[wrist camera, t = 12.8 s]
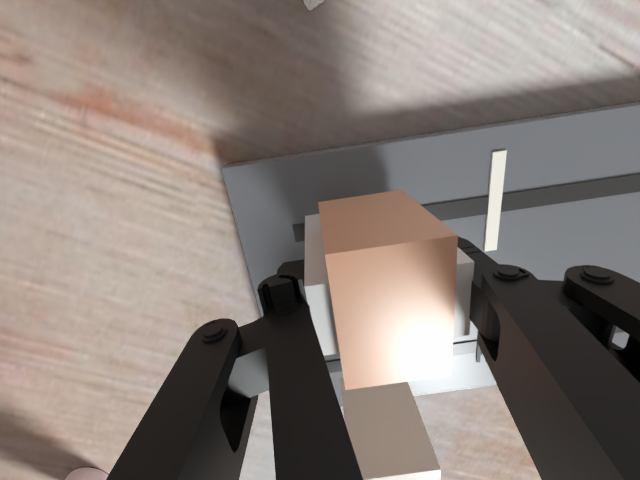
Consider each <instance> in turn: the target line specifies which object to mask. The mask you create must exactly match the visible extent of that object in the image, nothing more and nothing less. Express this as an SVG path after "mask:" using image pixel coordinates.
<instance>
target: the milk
mask: <svg viewBox="0 0 640 480" xmlns="http://www.w3.org/2000/svg"><path fill="white" fill-rule="evenodd" d="M303 1H304V3H305V5H306V7H307V9H308V10H309V11H311V10H312V9H314V8H315V7H317V6H318V5H319V4H321V3H322V2H324V1H325V0H303Z"/></svg>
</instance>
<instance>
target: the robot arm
mask: <svg viewBox="0 0 640 480" xmlns="http://www.w3.org/2000/svg"><path fill="white" fill-rule="evenodd" d="M257 291H258V295H259V299H260V302H261V306H262V310H263V315H264V316H263V317H261V318H260V319H258V320H256V321H254V322H252V323H249V324H247V325H244V326H241V327H238V325H237V324H236V322H235V321H233V320H231V319H217V320H213V321H210V322H208V323H206V324H204V325H203V326H201V327H200V328H198V329H197V330H196V331H195V332H194V334H193V335H192V336H191V338H190V339H189V341H188V343H187V344H186V346H185V348H184V349H183V351H182V353H181V354H180V356H179V358H178V359H177V361H176V363H175V364H174V366H173V368H172V370H171V371H170V373H169V375H168V376H167V378H166V380H165V381H164V383H163V385H162V386H161V388H160V390H159V391H158V393H157V395H156V396H155V398H154V400H153V401H152V403H151V405H150V407H149V408H148V410H147V412H146V413H145V415H144V417H143V418H142V420H141V422H140V423H139V425H138V427H137V428H136V430H135V432H134V433H133V435H132V437H131V439H130V440H129V442H128V444H127V445H126V447H125V449H124V450H123V452H122V454H121V455H120V457H119V459H118V460H117V462H116V464H115V465H114V467H113V469H112V470H111V472H110V474H109V476H108V477H107V479H106V480H239V476H240V472H241V468H242V464H243V460H244V455H245V451H246V447H247V443H248V438H249V434H250V430H251V426H252V421H253V417H254V413H255V409H256V404H257V400H258V394H260V393H262V392H265V391H267V390H269V393H270V406H271V419H272V432H273V445H274V458H275V471H276V480H363V477H362V474H361V471H360V468H359V465H358V462H357V459H356V455H355V452H354V449H353V446H352V443H351V440H350V437H349V434H348V430H347V427H346V424H345V421H344V418H343V415H342V412H341V409H340V405H339V402H338V399H337V396H336V393H335V390H334V387H333V383H332V380H331V377H330V374H329V371H328V368H327V365H326V362H325V358H324V356H325V355H332V354H339V353H340V352H339V345H338V339H337V332H336V325H335V319H334V312H333V306H332V299H331V292H330V286H329V279H328V272H327V266H326V259H325V252H324V244H323V237H322V229H321V221H320V214H314V215H308V216H305V259H303V260H296V261H289V262H284V263H283V264H282V265H281V266H280V267H279V268H278V270H277V274H276V275H273V276H270V277H268V278H266V279H265V280H263V281H262V282H261V283H260V284H259V285H258V289H257ZM470 320H471V322H472V323H473V324H474V325H475V327H476V328H477V329H478V332H477V344H476V362H480V358H481V354H483V356H484V358H485V362H487V364H488V366H489V369H490V371H491V373H492V375H493V377H494V379H495V381H496V383H497V386H498V388H499V390H500V392H501V394H502V396H503V398H504V400H505V402H506V405H507V407H508V409H509V411H510V413H511V415H512V417H513V419H514V422H515V424H516V426H517V428H518V430H519V432H520V434H521V436H522V439H523V441H524V443H525V445H526V447H527V449H528V451H529V453H530V456H531V458H532V460H533V462H534V464H535V466H536V468H537V470H538V472H539V475H540V477H541V479H542V480H640V283H639V282H637V281H635V280H633V279H631V278H629V277H627V276H624V275H622V274H620V273H618V272H615V271H613V270H610V269H607V268H602V267H599V266H594V265H592V266H590V265H581V266H573V267H570V268H568V269H567V270H566V271H565V275H564V280H563V281H557V280H538V279H537V278H536V277H535V276H534V275H533V274H532V273H531V272H529V271H528V270H526V269H524V268H521V267H518V266H513V265H508V264H498V263H497V262H495V261H494V260H493V259H492V258H490V257H489V256H488V255H486V254H485V253H484V252H482V251H481V250H480V249H479V248H478V247H476V246H475V245H474V244H473V243H471V242H470V241H469V240H467V239H464V238H461V237H459V236H458V245H457V267H456V289H455V311H454V333H453V337H459V336H466V335H469V334H470ZM617 327H618V328H620V329H621V330H623V331H624V332H626V333H628V334H629V338H628V340H627V343H626V346H625V347H624V348H621V347H619V346H617V345H616V344H614V343H613V342H612V340H613V337H614V334H615V331H616V328H617Z"/></svg>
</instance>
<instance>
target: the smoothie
mask: <svg viewBox="0 0 640 480" xmlns="http://www.w3.org/2000/svg"><path fill="white" fill-rule="evenodd" d="M108 476H109V475H108V474H107V473H105V472H103V471H101V470H99V469H95V468H87V467H84V468H78V469H75V470H73V471H71V472H70V473H69V475H68V476H67V477H66V479H65V480H106V479H107V477H108Z"/></svg>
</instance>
